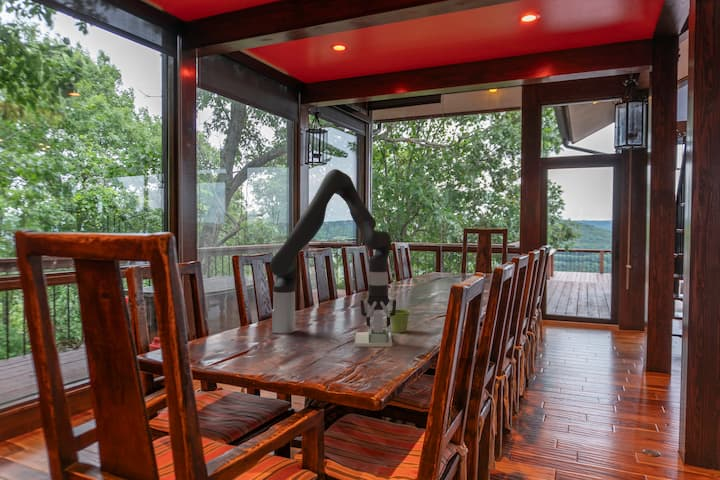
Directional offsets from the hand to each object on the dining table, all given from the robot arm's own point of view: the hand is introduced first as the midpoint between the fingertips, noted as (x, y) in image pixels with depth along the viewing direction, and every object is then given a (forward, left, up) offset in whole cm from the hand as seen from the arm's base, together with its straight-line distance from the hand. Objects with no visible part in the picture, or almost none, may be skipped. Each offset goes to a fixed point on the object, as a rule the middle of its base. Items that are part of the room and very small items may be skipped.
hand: (378, 326), depth 176 cm
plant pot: (+9, +19, -6) cm, 22 cm away
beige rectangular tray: (-2, +3, -6) cm, 7 cm away
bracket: (0, 0, -5) cm, 5 cm away
